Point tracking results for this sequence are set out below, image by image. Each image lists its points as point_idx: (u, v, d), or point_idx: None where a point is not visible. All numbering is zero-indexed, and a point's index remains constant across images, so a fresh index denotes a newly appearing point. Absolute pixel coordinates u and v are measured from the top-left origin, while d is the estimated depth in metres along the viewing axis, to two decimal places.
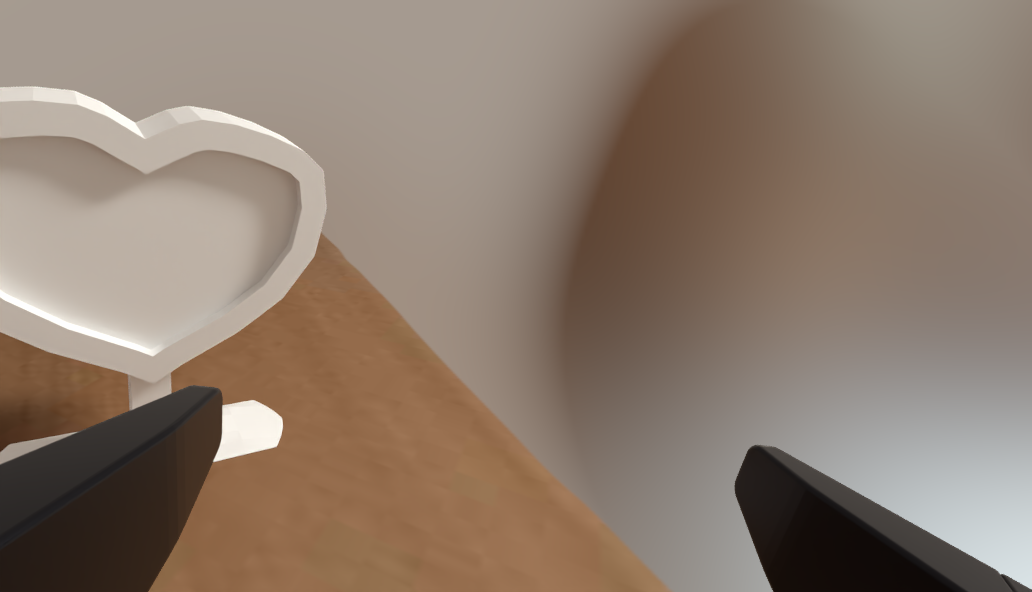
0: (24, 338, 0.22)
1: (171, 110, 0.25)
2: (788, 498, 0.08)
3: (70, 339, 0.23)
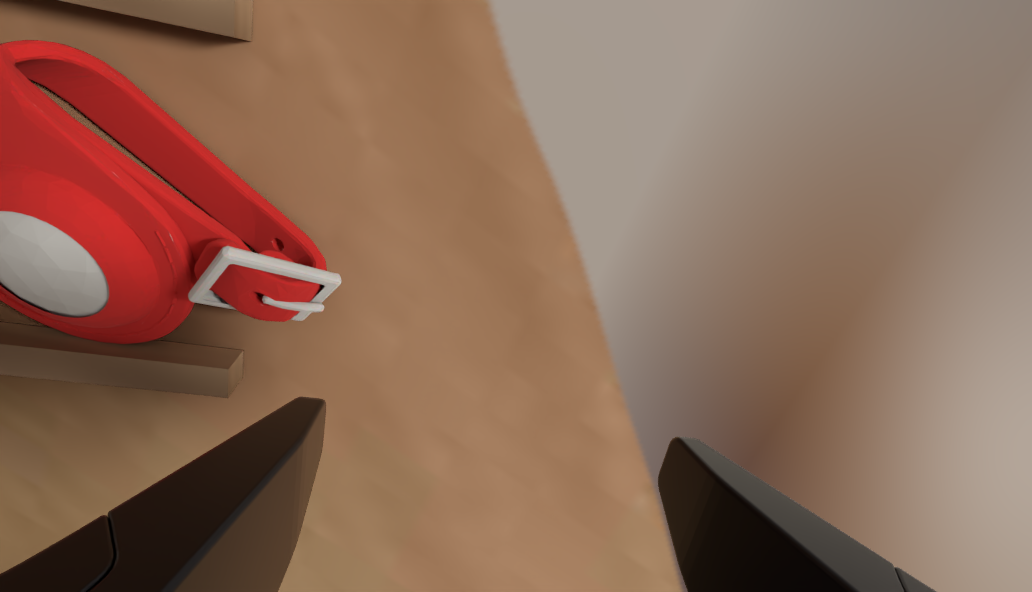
0: None
1: None
2: (700, 490, 0.08)
3: None
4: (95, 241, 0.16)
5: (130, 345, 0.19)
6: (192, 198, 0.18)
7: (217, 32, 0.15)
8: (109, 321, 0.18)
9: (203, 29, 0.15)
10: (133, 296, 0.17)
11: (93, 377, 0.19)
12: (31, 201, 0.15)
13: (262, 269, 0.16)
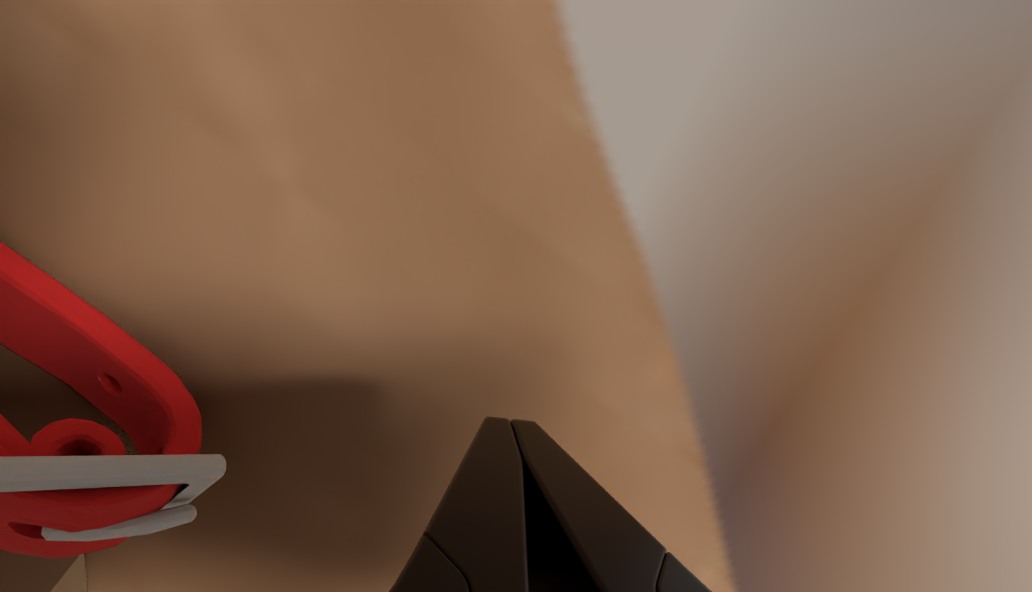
0: None
1: None
2: None
3: None
4: None
5: None
6: None
7: None
8: None
9: None
10: None
11: None
12: None
13: (19, 489, 0.07)
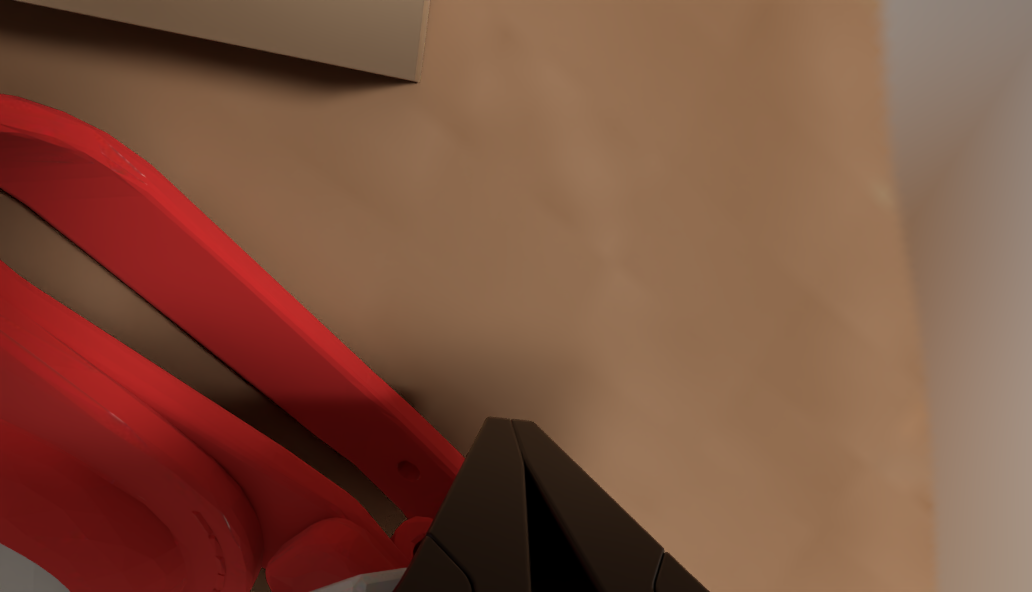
0: None
1: None
2: None
3: None
4: (57, 545, 0.07)
5: None
6: (257, 384, 0.10)
7: (379, 70, 0.07)
8: None
9: (349, 64, 0.07)
10: None
11: None
12: None
13: None
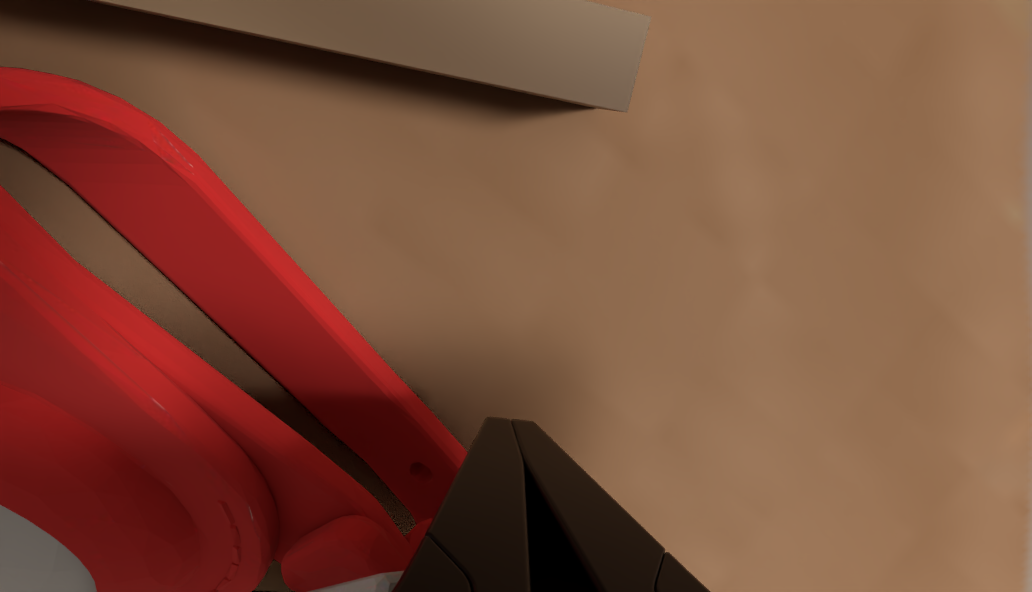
0: None
1: None
2: None
3: None
4: (84, 526, 0.07)
5: None
6: (279, 377, 0.10)
7: (595, 102, 0.07)
8: None
9: (570, 97, 0.07)
10: None
11: None
12: None
13: None
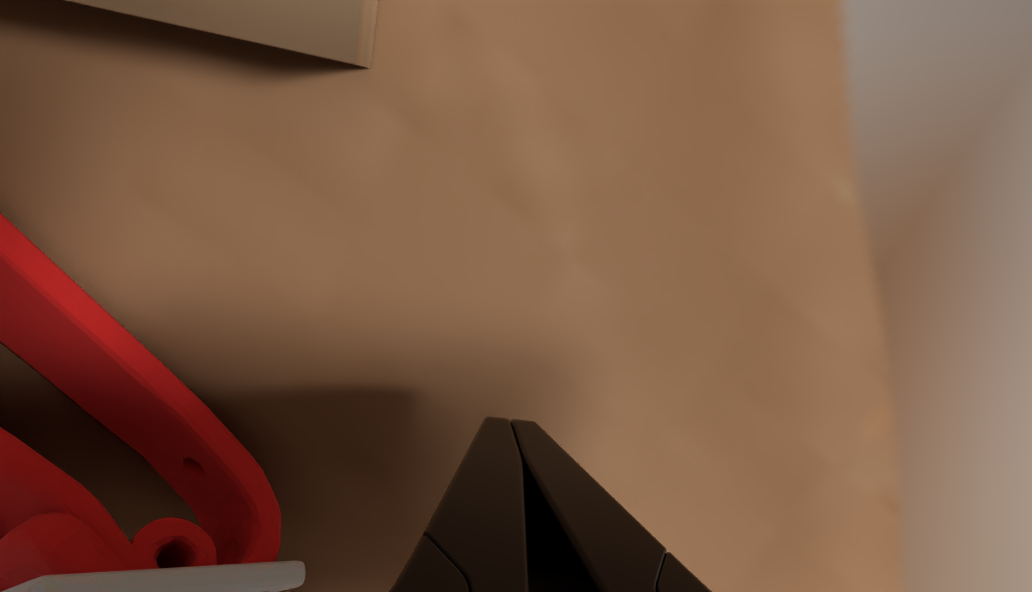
0: None
1: None
2: None
3: None
4: None
5: None
6: (32, 364, 0.09)
7: (318, 53, 0.07)
8: None
9: (287, 46, 0.07)
10: None
11: None
12: None
13: None
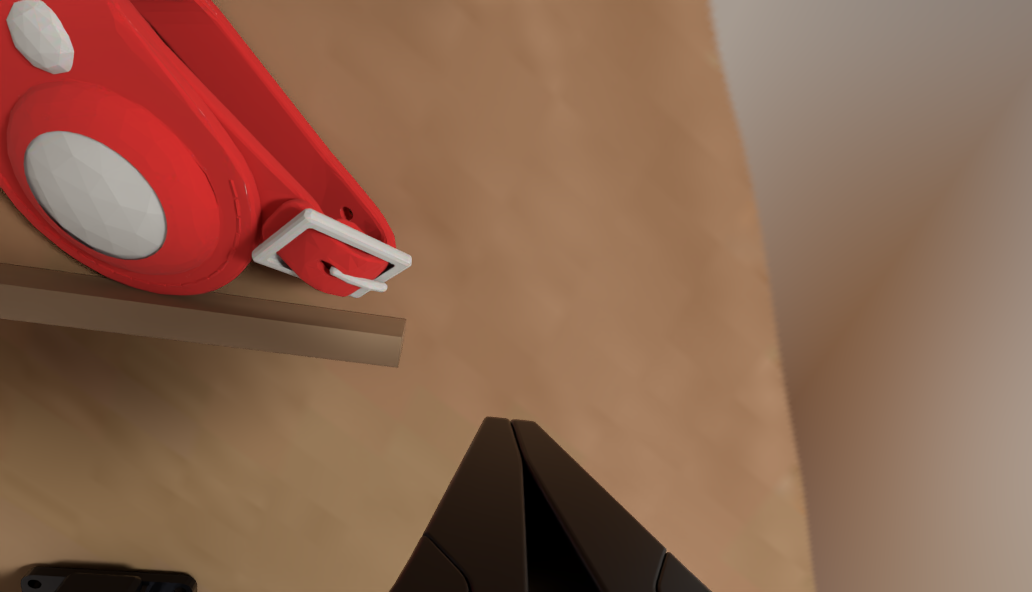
0: None
1: None
2: None
3: None
4: (164, 181, 0.14)
5: (298, 312, 0.19)
6: None
7: None
8: (156, 268, 0.16)
9: None
10: (189, 246, 0.16)
11: (265, 344, 0.18)
12: (104, 126, 0.14)
13: (339, 238, 0.15)
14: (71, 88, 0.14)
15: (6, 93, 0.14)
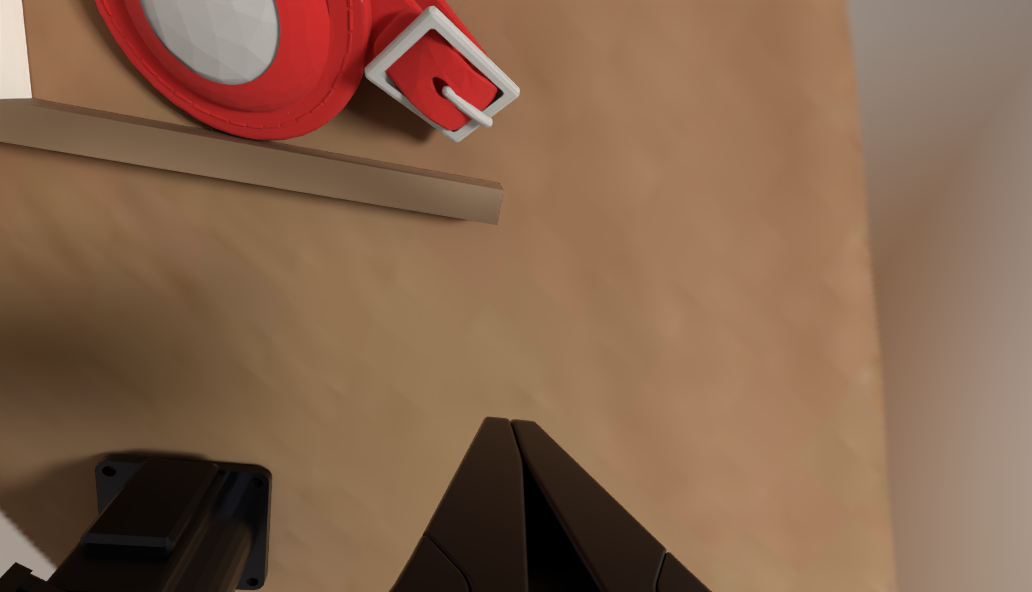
0: None
1: None
2: None
3: None
4: None
5: (396, 166, 0.18)
6: None
7: None
8: (260, 97, 0.16)
9: None
10: (299, 65, 0.15)
11: (366, 194, 0.18)
12: None
13: (457, 47, 0.15)
14: None
15: None
